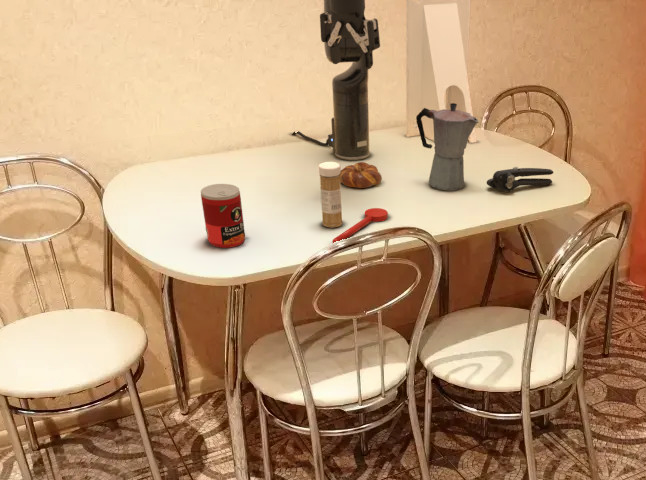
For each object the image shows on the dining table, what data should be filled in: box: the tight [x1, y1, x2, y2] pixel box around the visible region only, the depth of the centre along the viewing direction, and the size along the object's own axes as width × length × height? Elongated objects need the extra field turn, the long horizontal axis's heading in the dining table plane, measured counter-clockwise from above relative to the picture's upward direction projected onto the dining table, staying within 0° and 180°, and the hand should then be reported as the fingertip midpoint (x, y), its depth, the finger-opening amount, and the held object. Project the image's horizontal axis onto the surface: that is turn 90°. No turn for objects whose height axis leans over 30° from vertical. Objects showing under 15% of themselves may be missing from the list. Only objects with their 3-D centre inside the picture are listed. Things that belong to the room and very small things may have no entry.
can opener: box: [486, 166, 554, 193], centre depth 191 cm, size 18×7×6 cm, turn 113°
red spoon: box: [331, 207, 389, 244], centre depth 169 cm, size 20×5×1 cm, turn 154°
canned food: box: [200, 183, 246, 249], centre depth 159 cm, size 8×8×11 cm
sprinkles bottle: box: [318, 161, 344, 229], centre depth 167 cm, size 5×5×13 cm
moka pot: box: [415, 103, 480, 192], centre depth 187 cm, size 10×15×20 cm, turn 78°
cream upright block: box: [405, 0, 477, 144], centre depth 215 cm, size 20×14×40 cm
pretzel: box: [340, 161, 383, 189], centre depth 193 cm, size 12×11×4 cm
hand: (351, 66), depth 173 cm, fingers open, 8 cm apart
